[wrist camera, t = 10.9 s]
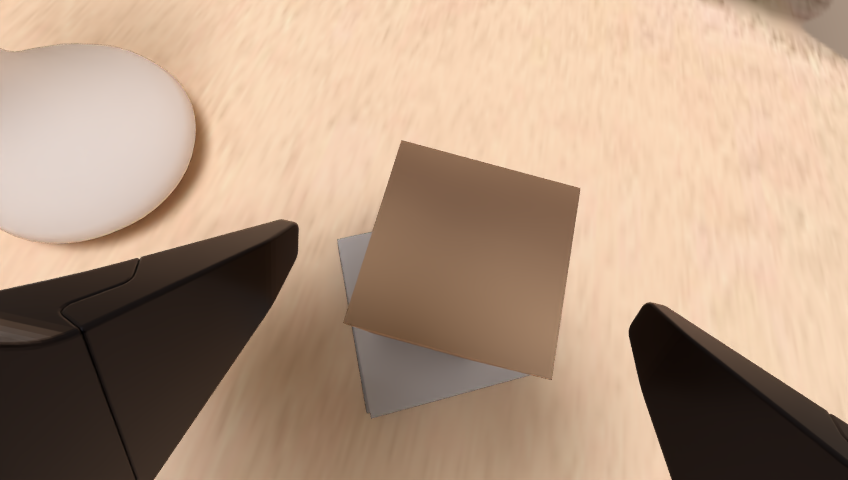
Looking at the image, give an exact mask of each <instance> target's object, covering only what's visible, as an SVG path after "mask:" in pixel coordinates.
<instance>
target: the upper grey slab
mask: <svg viewBox="0 0 848 480" xmlns="http://www.w3.org/2000/svg"><path fill="white" fill-rule="evenodd" d="M371 234H372V232H369V233H364V234H360V235H355V236H350V237H346V238H341V239H337V241H338V246H339V251H340V257H341V262H342V267H343V272H344V278H345V283H346V288H347V294H348V299H349V303H350V300H351V297H352V294H353V291H354V288H355V284H356V281H357V278H358V275H359V272H360V269H361V266H362V263H363V259H364V256H365V253H366V250H367V247H368V244H369V241H370V238H371ZM354 330H355V336H356V341H357V346H358V352H359V357H360V362H361V367H362V373H363V378H364V383H365V388H366V394H367V399H368V404H369V409H370V415H371V418H375V417H379V416H382V415H386V414H390V413H393V412H397V411H401V410H404V409H408V408H412V407H415V406H419V405H423V404H426V403H430V402H434V401H437V400H441V399H445V398H448V397H452V396H456V395H459V394H463V393H467V392H470V391H474V390H478V389H481V388H485V387H489V386H492V385H496V384H500V383H503V382H507V381H511V380H514V379H518V378H522V377H525V376H529V374H525V373H521V372H517V371H513V370H509V369H504V368H500V367H496V366H492V365H488V364H484V363H480V362H476V361H472V360H468V359H464V358H461V357H457V356H453V355H450V354H446V353H443V352H439V351H435V350H432V349H428V348H424V347H421V346H417V345H413V344H410V343H406V342H402V341H399V340H395V339H391V338H388V337H384V336H381V335H377V334H373V333H370V332H368V331H365V330H362V329H359V328H356V327H354Z"/></svg>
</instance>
